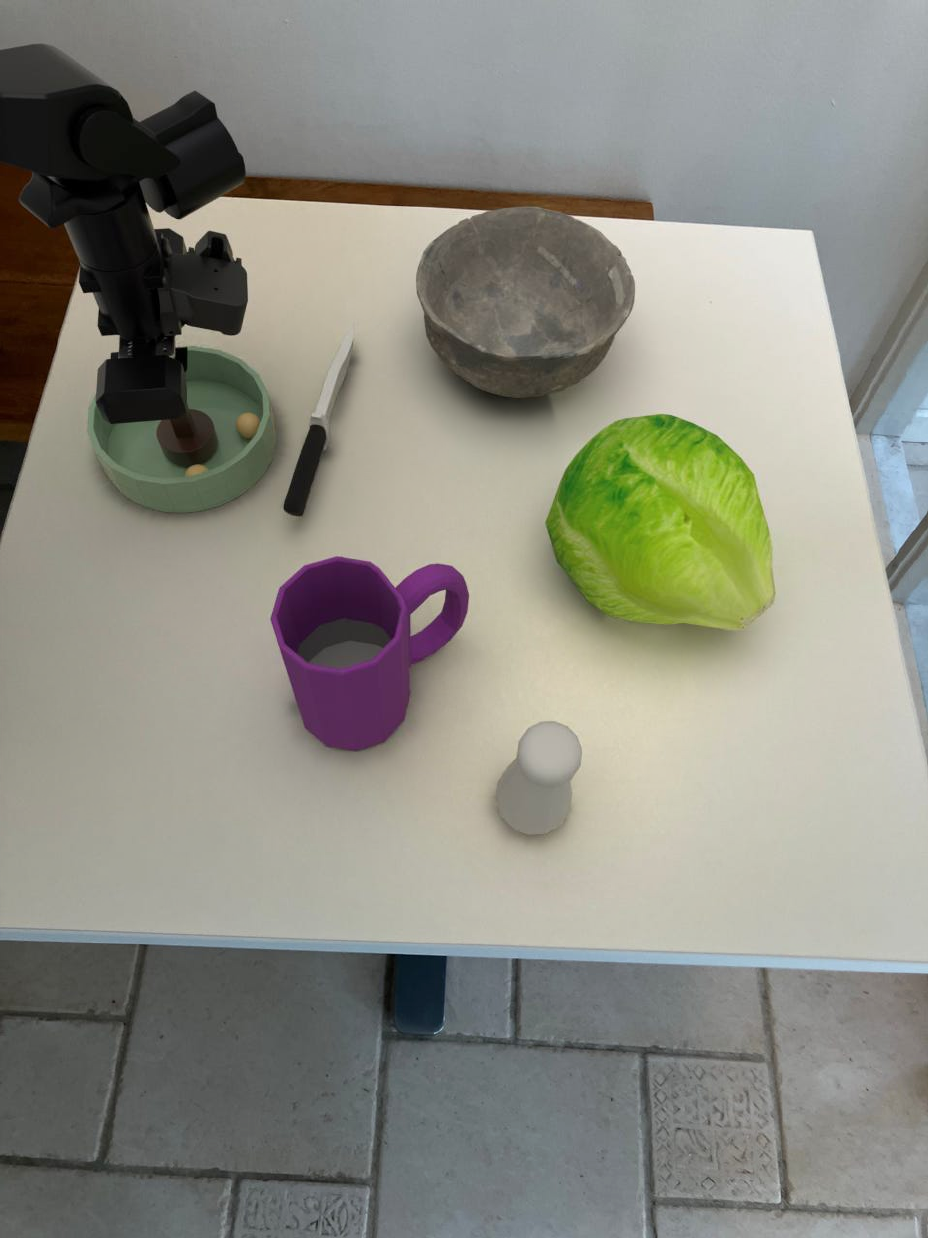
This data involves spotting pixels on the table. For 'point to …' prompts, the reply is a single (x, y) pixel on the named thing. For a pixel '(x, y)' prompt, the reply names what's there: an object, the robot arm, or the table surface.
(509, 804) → the salt shaker
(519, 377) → the bowl
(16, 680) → the table surface
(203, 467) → the bean
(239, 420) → the bean
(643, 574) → the lettuce
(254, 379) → the mixing bowl
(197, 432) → the lever handle
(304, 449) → the knife
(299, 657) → the mug
